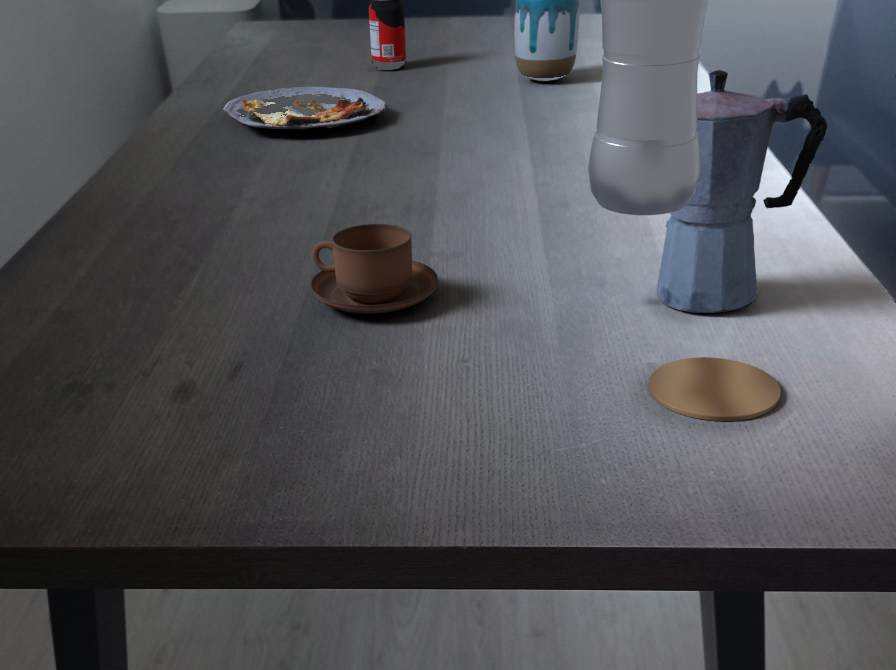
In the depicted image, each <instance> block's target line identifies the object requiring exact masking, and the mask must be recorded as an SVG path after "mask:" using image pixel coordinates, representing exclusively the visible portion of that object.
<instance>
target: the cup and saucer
mask: <svg viewBox="0 0 896 670" xmlns="http://www.w3.org/2000/svg"><path fill="white" fill-rule="evenodd" d="M323 249H327V250H331V251H332V253H333V261H334V263H333V264H332V265H330V264H329V265H327V264H325V263H323V262H322V261H321V260H322V259H321V258H320V252H321V251H322V250H323ZM311 253H312V254H311V257H312V260H313V263H314V265H315V266H316V267H317V268H318V269H319V270H320V271H319V272H317V273H316V274H315V275H314V277H313V278H312V279H311V282H310V288H311V291H312V293H313V296H315V298H316V299H318V300H319V301H320V302H322V303H323V304H325V305H326V306H328V307H330V308H332V309H336V310H338V311H342V312H347V313H351V314H353V313H354V314H366V315H367V314H368V315H369V314H374V315H375V314H385V313H391V312H397V311H402V310H405V309H408V308H410V307H413V306H415V305H417V304H419V303H421V302H424V301H425V300H426V299H427V298H428V297H429V296H431V294H433V292H434V291H435V290H436V288H437V287H438V281H439V277H438V274H437V272H436V271H435V269H433V268H432V267H430V266H429V265H427V264H424V263H422V262H419V261H416V260H413V243H412V233H411V232H410V231H409V229H407V228H406V227H403V226H400V225H396V224H390V223H365V224H364V223H363V224H357V225H353V226H349V227H346V228H343V229H341V230H339V231H337V232H335V233H334V235H333V236H332V238H331V241H330V240H329V241H328V240H327V241H325V240H324V241H323V240H322V241H319V242H318V243H316V244H315V245H314V247H313V248H312V252H311Z"/></svg>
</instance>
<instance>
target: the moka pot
mask: <svg viewBox="0 0 896 670" xmlns="http://www.w3.org/2000/svg"><path fill="white" fill-rule="evenodd" d="M728 75H729V72H727V71H725V70H721V69H717V70H714V71H711V72H709V73H708V78H709V85H710V90H707V91H703V92H699V93H698V92H697V129H696V131H697V132H698V136H699V143H700V158H701V171H700V175H699V179H698V183H697V187H696V191H695V193H694V195H693V197H692V198H691V199H690V200H689V202H688V203H687V204H686V205H685V206H684V207H683V208H682V209H680V210H677V211H674V212H671V213H669V215H670V217H669V218H668V220H667V221H666V222H665V223H666V224H665V227H666V232H665V239H664V244H663V250H662V256H661V262H660V266H659V267H660V268H659V274H658V280H657V285H656V295H657V297H658V300H659V301H660V302H661V303H662V304H664V305H666V306H667V307H669V308H671V309H674V310H678V311H682V312H687V313H694V314H701V313H705V314H706V313H707V314H708V313H709V314H710V313H712V314H713V313H716V314H717V313H725V312H726V313H727V312H730V311H734V310H739V309H741V308H744V307H745V306H747V305H749V304H751V303H752V302H753V301H754V300H755V298H756V297H757V296H758V294H757V292H758V284H757V271H756V254H755V233H754V219H753V217H752V214H753V211H754V208H755V207H756V203H757V199H756V198H755V194H756V193H757V192H758V191H759V190H760V187H761V181H762V175H763V172H764V165H765V161H766V156H767V154H768V153H767V151H768V147H769V143H770V138H771V133H772V131H773V125H774V124H775V123H789V122H792V121H794V120H797V119H804V120H806V121H807V122H808V123H809V126H810V130H809V131H808V132H807V134H806V136H805V140H804V143H803V145H802V148H801V150H800V152H799V154H798V158H797V159H796V161H795V163H794V167H793V170H792V173H791V175H790V179H789V180H788V183H787V185H786V186H785V189H784V190H783V192H782V194H781V195H779V196H776V197H773V196H766V197H765V198H764V199H763V200H762V201H763V204H764V207H765V208H766V209H775V208H777V209H778V208H786V207H790V206H793V202H794V201H795V200H796V199H795V198H796V196H797V195H798V193H799V191H800V189H801V187H802V184H803V180H804V179H805V178H806V175H807V173H808V171H809V169H810V165H811V164H812V162H813V160H814V159H815V157H816V153H817V151H818V150H819V147H820V146H821V144H822V142H823V141H824V140H825V137H826V134H827V129H828V123H827V120H826V119H825V118H824V117H823V116H822V112H821V111H820V109H819V108H817V107H816V106H815V105H814V101H813V100H811V99H810V97H809V95H808V94H806V93H805V94H801V95H796V96H792V97H790V98H787V97H770V98H763V97H761V96H759V95H754V94H750V93H742V92H735V91H730V90H725V88H726V83H727V80H728Z"/></svg>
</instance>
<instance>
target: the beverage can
mask: <svg viewBox="0 0 896 670" xmlns="http://www.w3.org/2000/svg"><path fill="white" fill-rule="evenodd" d="M368 19H369V21H368V22H369V36H370V38H369V39H370V57H371V61H372V60H375V61H380V62H400V61H404V60H405V59H406V60H407V48H406V47H407V45H406V43H407V42H406V23H405V21H406V20H405V19H406V18H405V6H404V3H403V2H402V1H401V0H371V2H370V4H369V6H368Z"/></svg>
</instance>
